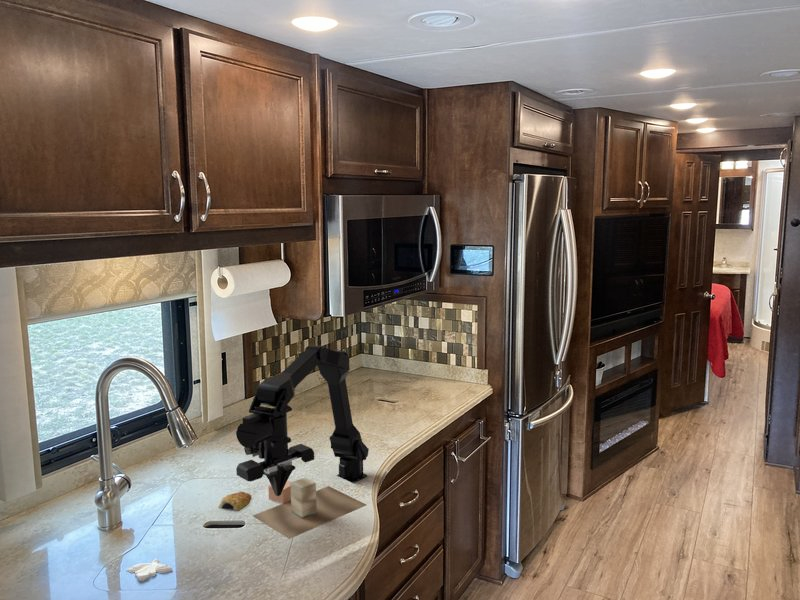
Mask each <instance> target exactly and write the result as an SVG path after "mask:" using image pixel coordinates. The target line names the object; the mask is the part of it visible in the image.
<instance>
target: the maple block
mask: <svg viewBox="0 0 800 600" xmlns="http://www.w3.org/2000/svg"><path fill="white" fill-rule="evenodd" d="M290 482H291V483H290V486H291V500H290V501H291V513H293V514H294V515H296V516H298V517H300V518H301V519H303V518H305V517H308V516H310V515H312V514H315V513H317V505H316V491H317V483H316V481H314V480H311V479H309V478H307V477H306V476H305V477H302V478H299V479H296V480H294V481H290Z"/></svg>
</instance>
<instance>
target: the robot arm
mask: <svg viewBox="0 0 800 600" xmlns="http://www.w3.org/2000/svg"><path fill="white" fill-rule="evenodd" d="M316 368H317V369H318V371H319V374H320V375H321V377H322V378H323V379H324V380H325V382H326V383H327V387H328V393H329V399H330V406H331V410H332V416H333V422H334V431H333V432H332V434H331V435H330V436H329V442H330V449H332V451H333V455H334V457H335V458H339V463H338V474H336V476H337V477H338V478H341V479H343V480H345V481H347V482H349V483H355V482H357V481H360V480H362V479H365V478H368V475H367V474H366V473H364V461H366V460H367V457H368V456H369V450H370V449H369V447H368V446H366V444H365V443H364V442H363V439H362V435H361V433H360V431H359V429H357V427H356V426H355V425H354V423H353V418H352V410H351V407H350V406H351V405H350V400H349V392H348V387H347V386H348V385H347V382H346V379H347V376H348V374H349V371H350V356H349V354H348V352H346V351H345V350H344V351H343V350H336V349H329V348H327V347H325V346H323V345H316V344H315V345H314V344H310V345H308V346H306V347H305V349H304V351H303V352H302V353H301V354H300V355H298V356H297V358H296V359H294V361H293V362H291V363H290V364H289V365H288V366H287V367H286V368H285V369H283V371H282V372H280V373H278V374H276V375H272V376H270V377H268V378H266V379H265V380H263V381H261V382H260V384H259V385H258V386H257V389H256V392H255V393H254V396H253V399H252V402H251V404H250V407H249V410H248V413H249V414H250V415H246V416H244V417H242V423H239V425H238V426H237V428H236V431H235V434H236V439H237V441H238V443H239V444H240V445H241V446H242V447H244V448H243V450H244V453H245V455H246V456H249V455H251V456H252V458H255V457H256V456H258V458H259V459H260V460H264V461H260V462H257V461H255V460H253V459H249V460H246V461H243V462H240V463H238V464H237V466H236V476H238V477H240V478H241V479H243V480H245V481H246V482H254V481H257V480H259V479H260V480H261V479H262V478H263V476H266V477H267V480H268V482H269V485H271V486H272V488H273V491H274V493H275V495H276V496H280V495H281V493H282V491H283V489H284V486H285V484H286V482H287V481H289V478H290V476H291V474H292V473H293V471H294V470H296V466H295V465H293V461H294V460H297V459H301V461H302V462H303V463H309V462H311V461H314V460H315V451H314V449H313V447H310V446H307V445H305V444H303V443H299V444H296V445H292V446H290V447H289V443H291V442H292V439H291V437H290V436H288V415H287V414H288V413H289V412H291V411H292V410H293V408H292V406H290V405H289V403H290V402H291V400H292V399H293V398H294V396H295V393H296V392H295V391H296V388H297V386H299V384H301V382H302V381H304V380H305V378H306V377H308V376H309V375H310V373H311V372H312V371H314V369H316ZM261 405H262V406H261ZM265 406H266V407H265Z"/></svg>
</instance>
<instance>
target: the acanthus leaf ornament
mask: <svg viewBox="0 0 800 600" xmlns="http://www.w3.org/2000/svg"><path fill="white" fill-rule="evenodd" d="M128 571H129V573H134V572H135V573H134V575H135V578H137V579H138V582H139V581H140V582H143V581H145V580H148V579H149V578H152V576H153V577H155V576H157V573H159V574H165V573H170V572H172V571H173V567H171V566H168V564H164V563H160V560H159V558H154V559H153V560H152V562H149V563H137V564H134V565H132V567H128V568H127V569H126V572H128ZM154 575H155V576H154ZM149 576H151V577H149ZM142 580H143V581H142Z"/></svg>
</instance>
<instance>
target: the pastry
mask: <svg viewBox="0 0 800 600" xmlns="http://www.w3.org/2000/svg"><path fill="white" fill-rule="evenodd" d="M251 498H252V496H251V494H250V493H248V492H245V491H239V492H234V493H231V494H227V495H226V496H224V497H222V499H221V501H220V503H219V505H218V506H217V508H218V509H223V510H224V509H227V510H228V509H229V510H231V509H233V511H240V510H242V509H243V508H245V507H246V506H247V505H249V502H250V501H251Z"/></svg>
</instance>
